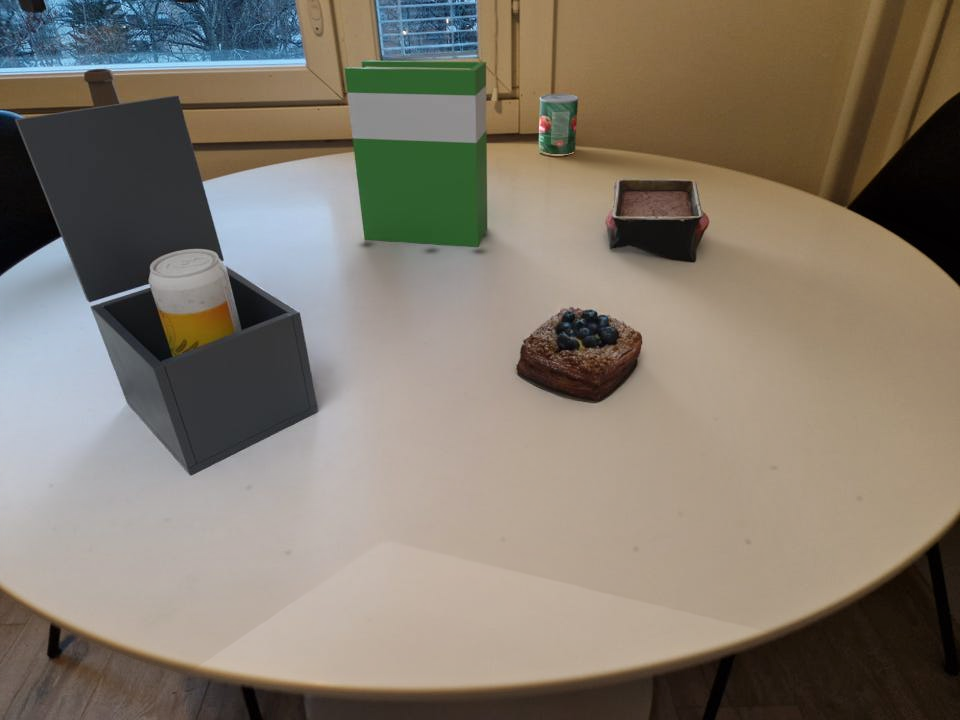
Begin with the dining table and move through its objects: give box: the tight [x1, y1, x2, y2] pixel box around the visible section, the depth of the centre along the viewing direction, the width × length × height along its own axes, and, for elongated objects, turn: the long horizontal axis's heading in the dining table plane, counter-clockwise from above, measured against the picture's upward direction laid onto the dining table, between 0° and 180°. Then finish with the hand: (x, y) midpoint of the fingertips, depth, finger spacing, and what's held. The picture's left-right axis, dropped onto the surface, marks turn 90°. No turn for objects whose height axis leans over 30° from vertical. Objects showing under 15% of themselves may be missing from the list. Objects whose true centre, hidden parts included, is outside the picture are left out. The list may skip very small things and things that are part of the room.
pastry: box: [515, 306, 643, 404], centre depth 66 cm, size 11×12×6 cm
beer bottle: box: [83, 68, 122, 108], centre depth 94 cm, size 8×8×24 cm
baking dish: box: [604, 177, 710, 263], centre depth 94 cm, size 14×18×10 cm
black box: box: [90, 265, 319, 476], centre depth 60 cm, size 15×13×11 cm
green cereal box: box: [343, 59, 488, 248], centre depth 94 cm, size 18×7×24 cm, turn 79°
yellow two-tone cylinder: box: [148, 249, 241, 356], centre depth 57 cm, size 6×6×15 cm
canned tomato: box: [538, 93, 579, 154], centre depth 136 cm, size 8×8×11 cm
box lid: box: [14, 95, 225, 303], centre depth 59 cm, size 15×13×6 cm
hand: (114, 6), depth 43 cm, fingers open, 9 cm apart
